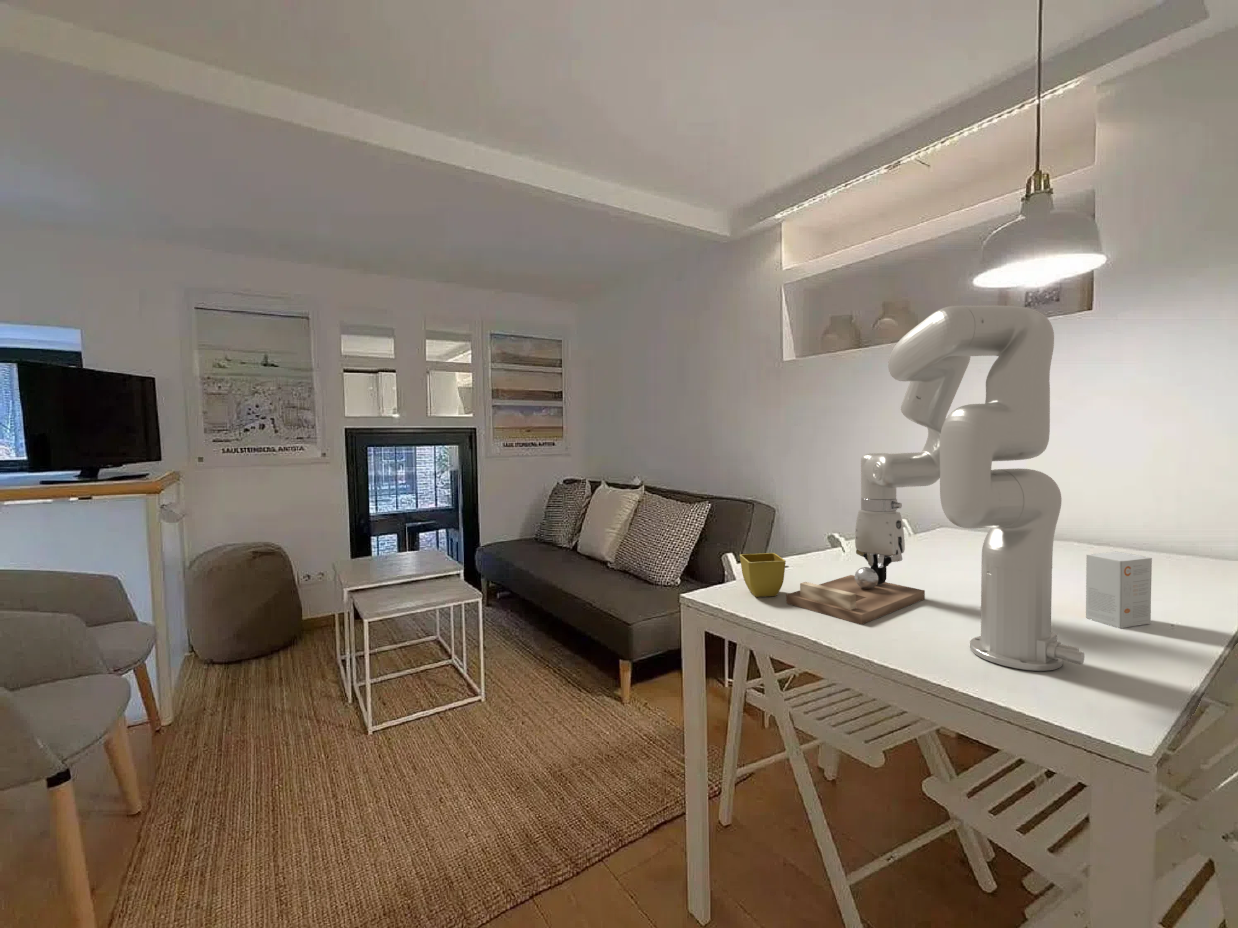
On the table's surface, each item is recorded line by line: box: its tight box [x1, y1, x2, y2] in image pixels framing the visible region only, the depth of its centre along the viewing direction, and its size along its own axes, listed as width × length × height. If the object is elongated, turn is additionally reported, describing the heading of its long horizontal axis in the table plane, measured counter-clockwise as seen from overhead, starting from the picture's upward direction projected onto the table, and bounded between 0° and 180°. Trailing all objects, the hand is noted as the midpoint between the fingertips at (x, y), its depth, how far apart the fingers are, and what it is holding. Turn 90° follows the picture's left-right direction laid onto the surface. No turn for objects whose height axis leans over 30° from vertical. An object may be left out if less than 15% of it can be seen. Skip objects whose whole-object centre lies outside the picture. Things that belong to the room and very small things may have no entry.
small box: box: [1085, 551, 1153, 629], centre depth 105 cm, size 8×6×13 cm
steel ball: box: [854, 566, 878, 589], centre depth 124 cm, size 5×5×5 cm
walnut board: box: [785, 574, 926, 625], centre depth 122 cm, size 18×26×5 cm
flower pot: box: [739, 552, 787, 598], centre depth 129 cm, size 9×9×9 cm
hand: (878, 582), depth 127 cm, fingers closed
